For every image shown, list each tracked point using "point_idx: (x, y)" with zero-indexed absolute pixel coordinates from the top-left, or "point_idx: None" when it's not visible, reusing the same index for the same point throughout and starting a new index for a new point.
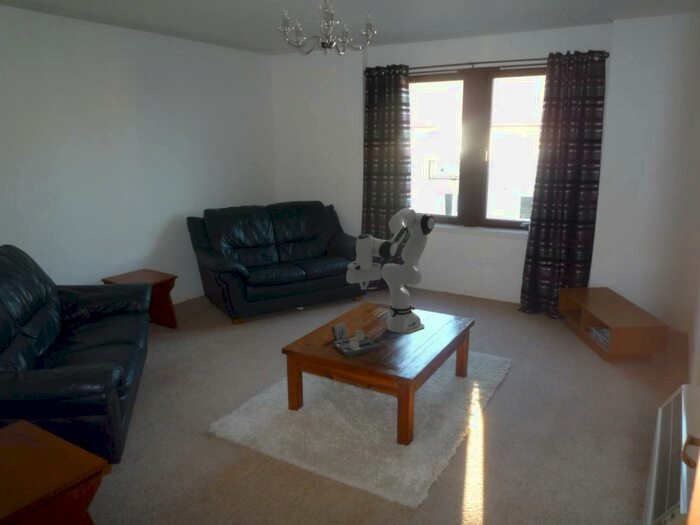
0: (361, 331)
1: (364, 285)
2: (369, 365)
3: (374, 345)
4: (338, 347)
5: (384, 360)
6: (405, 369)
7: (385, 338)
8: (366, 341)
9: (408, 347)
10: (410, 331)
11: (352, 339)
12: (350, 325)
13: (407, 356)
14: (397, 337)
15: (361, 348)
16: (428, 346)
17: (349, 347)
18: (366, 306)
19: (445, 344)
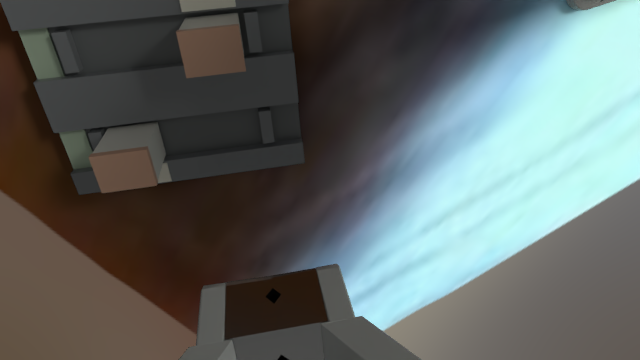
0: (223, 65)
1: (320, 326)
2: (170, 287)
3: (267, 160)
4: (37, 70)
5: (258, 264)
6: None
7: (411, 17)
8: (246, 88)
9: (440, 178)
10: (599, 5)
11: (106, 180)
12: None
13: (374, 257)
14: (483, 34)
15: (176, 172)
16: (524, 197)
17: (108, 124)
18: None
19: (599, 202)
